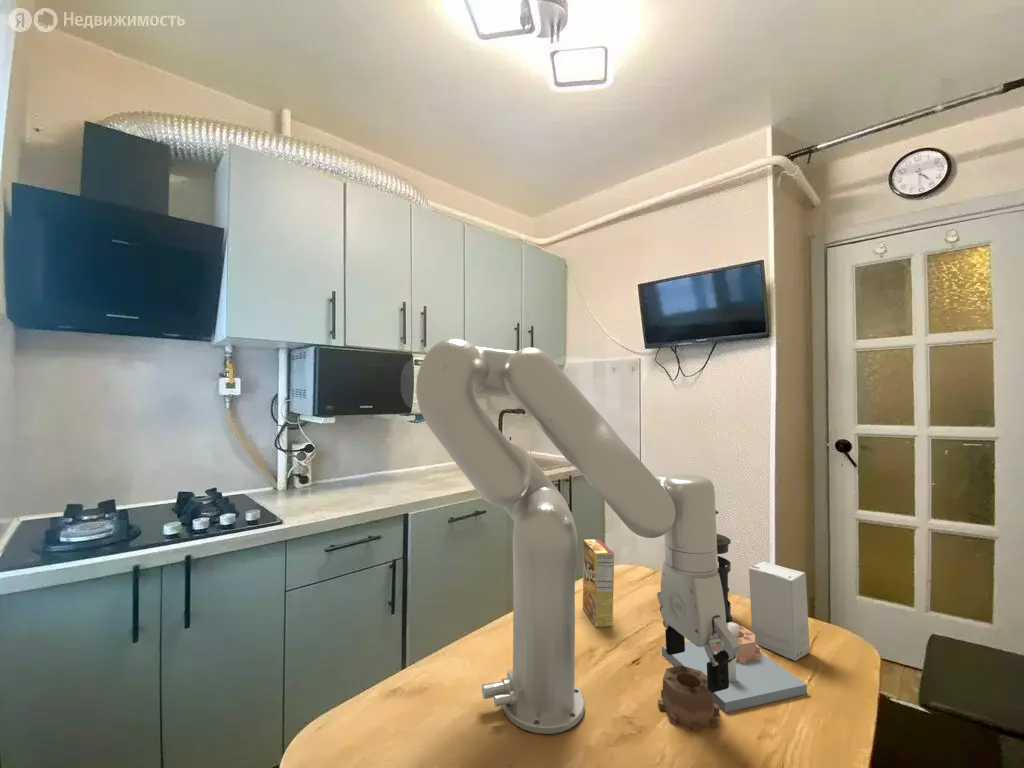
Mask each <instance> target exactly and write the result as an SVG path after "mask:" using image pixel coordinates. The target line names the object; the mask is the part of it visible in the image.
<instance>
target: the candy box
mask: <svg viewBox="0 0 1024 768" xmlns="http://www.w3.org/2000/svg"><path fill="white" fill-rule="evenodd" d="M582 554H583V556H582V558H583V560H582V561H583V562H582V563H583V564H582V565H583V567H582V570H583V571H582V573H583V574H582V609H583V610H584V612H585V613H586V615H587V616H588V618H589V619H590V621H591V622H592V624H593V626H594V627H595V628H601V627H603V628H605V627H613V625H614V623H613V622H614V618H613V617H614V581H615V580H614V579H615V576H614V575H615V574H614V573H615V572H614V569H615V568H614V567H615V553H614V551H612V550H611V548H609V547H608V546H607V545H606V544H605V543H604V542H602V540H601V539H597V538H595V539H592V538H591V539H583V553H582Z"/></svg>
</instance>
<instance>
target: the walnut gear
mask: <svg viewBox="0 0 1024 768" xmlns="http://www.w3.org/2000/svg"><path fill="white" fill-rule="evenodd" d="M660 697H662V699H658V700H657V706H658V709H659V711H665V712H666V714H668V716H669V719H668V721H669V722H670V723H672V724H673V725H677V724H678V723H680V724H682V725H685V726H688V727H691V728H692V731H693V732H699V733H700V732H701V728H702V727H706V726H710V727H712V728H713V729H716V728H717V727H718V726H719V718H718V717H716V716H717V715H718V716H719V715H720V708H719V707H718V705H717V704H715V703H714V692H713V693H712V692H710V691H709V690H708V683H707V675H705V674H704V673H703V672H702V671H700V670H696V669H693V668H689V667H685V666H677V667H675V666H671V667H668V668H666V669H665V672H664V674H663V677H662V689H661V690H660ZM714 715H716V716H714Z"/></svg>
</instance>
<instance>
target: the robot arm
mask: <svg viewBox="0 0 1024 768" xmlns="http://www.w3.org/2000/svg"><path fill="white" fill-rule="evenodd" d="M417 373H418V374H417V377H416V382H415V386H416V387H415V391H416V399H417V404H418V408H419V411H420V413H421V416H422V417H423V420H424V422H425V423H426V424H427V427H428V428H429V430H430V431H431V432H432V433H433V435H434V436H435V437H436V439H437V440H438V441H439V443H440V444H441V446H442V447H444V450H446V452H447V453H448V454H449V456H450V458H451V459H452V460H453V462H454V463H455V464H456V466H457V467H458V468H459V469H460V470H461V472H462V473H463V474H464V476H465V477H466V478H467V479H468V481H469V482H470V484H471V485H472V486H473V488H474V489H475V491H476V492H477V493H478V494H479V496H480V497H481V498H482V499H483V501H486V502H487V503H488V504H491V505H493V506H496V507H502V508H503V509H504V510H505V512H506V513H507V514H508V515H509V517H510V518H511V519H512V520H513V521H514V522H513V532H512V563H513V565H512V569H513V570H512V571H513V578H512V579H513V580H512V581H513V583H512V587H513V588H512V591H513V592H512V600H513V601H512V605H513V608H512V609H513V610H512V612H513V615H512V617H513V619H512V621H513V622H512V623H513V624H512V634H513V635H512V668H511V669H507V672H506V673H507V676H506V677H505V678H501V681H497V682H487V683H484V684H482V685H481V693H482V699H483V700H488V699H492V698H493V703H494V704H493V705H494V707H495V708H496V707H501V706H502V709H503V711H504V714H505V715H506V717H507V718H508V720H509V721H510V722H511V723H513V724H514V725H515V726H517V727H519V728H520V729H522V730H525V731H528V732H531V733H534V734H541V735H542V734H543V735H545V734H546V735H553V734H558V733H563V732H566V731H568V730H570V729H572V728H573V727H575V726H576V725H577V724H578V723H579V722H580V721H581V719H582V718H583V716H584V713H585V703H586V702H585V697H584V695H583V693H582V691H581V690H580V688H579V687H578V686H577V685H576V684H575V670H576V669H575V667H576V665H575V658H576V655H575V651H576V650H575V647H576V644H575V643H576V642H575V641H576V638H575V637H576V634H575V633H576V632H575V631H576V628H575V627H576V626H575V625H576V622H575V621H576V612H575V611H576V604H575V602H576V601H575V600H576V599H575V597H576V590H575V589H576V567H577V556H578V555H577V552H578V534H577V526H576V524H575V523H576V522H575V520H574V517H573V514H572V512H571V510H570V508H569V505H568V502H567V501H566V499H565V498H564V497H563V495H562V493H561V492H560V491H559V490H558V488H557V487H556V486H555V485H554V484H553V482H552V481H551V479H550V478H549V477H548V476H547V475H546V474H545V472H544V471H543V470H542V469H541V467H540V466H539V464H537V462H536V461H535V460H534V459H533V457H532V456H531V455H530V453H528V452H527V450H526V449H525V448H524V447H523V446H522V445H521V444H519V443H517V442H515V441H513V440H510V439H507V438H506V436H505V435H504V434H503V433H502V431H501V430H500V429H499V428H498V427H497V425H496V424H495V423H494V421H493V420H492V418H491V417H490V416H489V415H488V413H487V412H486V411H485V410H484V409H483V408H482V406H481V405H480V404H479V402H478V401H477V399H476V397H475V395H480V396H486V397H494V398H503V399H504V398H505V399H513V400H515V401H516V402H517V403H518V404H519V405H520V407H521V408H522V409H523V410H524V411H525V413H526V414H527V415H528V416H529V417H530V419H531V420H533V422H534V423H535V424H536V426H538V428H540V430H541V431H542V432H543V434H544V435H545V436H546V437H547V438H548V439H549V441H550V442H551V443H552V444H553V445H554V446H555V448H556V449H557V450H558V451H559V452H560V453H561V455H562V456H563V457H564V458H565V460H566V461H568V462H569V463H570V464H571V465H572V466H573V467H574V468H575V469H576V470H577V471H578V472H579V473H580V474H581V475H582V476H583V477H584V478H585V479H586V481H588V483H589V484H590V485H591V486H592V488H594V490H595V491H596V492H597V493H598V494H599V496H600V498H602V499H603V501H604V502H605V503H606V504H607V505H608V506H609V507H610V508H611V510H612V511H613V512H614V513H615V514H616V515H617V517H618V518H619V519H620V520H621V522H622V523H624V525H625V526H626V527H627V528H628V530H630V531H631V533H633V534H635V535H637V536H639V537H642V538H645V539H657V538H659V537H662V536H664V556H665V557H664V559H663V562H662V563H663V564H662V569H661V576H660V591H659V592H657V593H656V597H657V600H658V604H659V610H660V614H661V617H662V626H663V627H664V628H665V629H664V631H665V645H666V652H667V654H669V655H673V654H678V653H682V652H685V642H686V641H685V640H687V641H690V642H692V643H693V644H694V645H696V646H698V647H703V646H704V649H705V651H706V653H707V656H708V658H709V660H710V662H707V683H708V690H709V691H710V692H712V693H713V692H717V691H721V690H725V689H728V688H729V673H728V663H730V662H731V661H732V660H733V659H735V658H736V653H737V651H738V649H739V643H738V641H737V640H736V638H735V637H734V636H733V634H732V633H731V632H730V630H729V629H728V628H727V627H726V613H725V604H724V597H723V590H722V585H721V580H720V576H719V573H718V572H717V571H718V568H719V562H718V558H717V556H718V554H717V535H716V534H717V514H716V512H715V510H716V494H715V493H716V492H715V486H714V483H713V482H712V480H710V479H709V478H708V477H705V476H701V475H696V474H675V475H674V474H673V475H671V476H664V475H663V476H662V475H661V476H659V475H654V474H653V473H652V472H651V471H650V469H648V467H647V466H646V465H645V464H644V463H643V462H642V461H641V460H640V458H639V457H638V456H637V455H636V454H635V453H634V452H633V451H632V450H631V448H630V447H628V445H627V444H626V443H625V442H624V441H623V440H622V438H621V437H620V436H619V435H618V434H617V432H616V431H615V430H614V429H613V428H612V426H611V425H610V424H609V423H608V421H606V419H605V418H604V417H603V415H602V414H601V413H600V412H599V411H598V410H597V409H596V408H595V407H594V406H593V404H591V403H590V401H589V400H588V399H587V397H585V396H584V394H583V393H582V392H581V391H580V389H579V388H578V387H577V386H576V385H575V384H574V383H573V382H572V380H570V378H569V377H568V376H567V375H566V373H565V372H564V371H563V369H561V367H559V366H558V364H557V363H556V361H554V360H553V359H552V358H551V356H550V355H548V354H547V353H546V352H545V351H543V350H542V349H540V348H536V347H524V348H521V349H519V350H508V349H507V350H506V349H505V350H504V349H497V348H496V349H495V348H488V347H482V346H475V345H474V344H472V343H471V342H469V341H467V340H464V339H460V338H448V339H442V340H441V341H439V342H437V343H436V344H434V345H433V346H432V347H431V348H430V349H429V350H428V351H427V353H426V354H425V356H424V357H423V360H422V361H421V364H420V367H419V369H418V372H417ZM711 636H712V637H713V639H710V638H711ZM713 644H717V646H718V649H719V651H720V652H719V653H717V654H716V655H715V652H714V650H713V648H712V646H711V645H713Z"/></svg>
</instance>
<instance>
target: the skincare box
mask: <svg viewBox="0 0 1024 768" xmlns="http://www.w3.org/2000/svg"><path fill="white" fill-rule="evenodd" d="M806 575H807V574H806V572H804V571H800V570H795V569H792V568H790V567H789V568H788V567H785V566H781V565H777V564H774V563H770V562H767V561H761V562H759V563H756V564H755V565H752V566H750V567H749V568H748V576H749V596H750V598H749V599H750V615H751V617H750V618H751V619H750V620H751V632H752V633H754V634H755V645H758V646H759V647H762V648H764V649H767V650H769V651H771V652H773V653H776V654H778V655H780V656H783V657H785V658H788V659H790V660H792V661H794V662H796V661H798V660H799V659H800V658H802V657H804V656H806V655H808V654H809V653H810V651H811V648H810V647H811V645H810V631H809V613H808V595H807V594H808V593H807V591H808V590H807V577H806Z"/></svg>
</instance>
